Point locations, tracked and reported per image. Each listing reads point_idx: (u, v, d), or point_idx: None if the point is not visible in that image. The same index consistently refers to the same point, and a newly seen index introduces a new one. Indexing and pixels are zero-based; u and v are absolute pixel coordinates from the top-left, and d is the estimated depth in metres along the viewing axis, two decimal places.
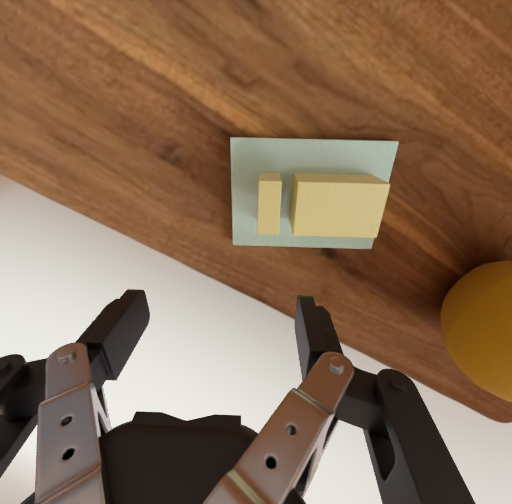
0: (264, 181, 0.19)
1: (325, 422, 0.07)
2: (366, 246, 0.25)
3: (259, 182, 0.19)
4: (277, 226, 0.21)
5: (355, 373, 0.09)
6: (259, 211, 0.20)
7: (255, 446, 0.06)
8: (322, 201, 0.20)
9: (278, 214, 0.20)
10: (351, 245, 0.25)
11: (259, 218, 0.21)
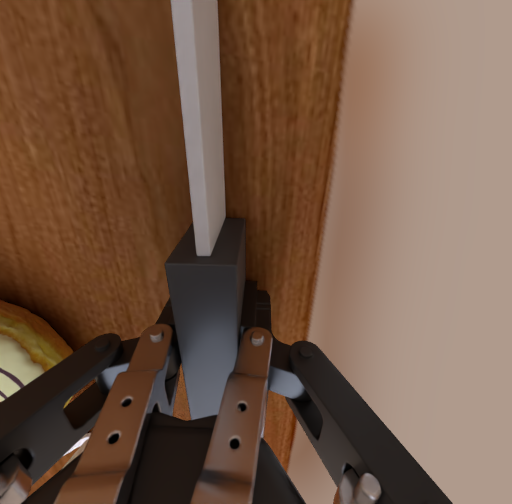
0: None
1: (266, 386, 0.08)
2: None
3: None
4: None
5: (277, 346, 0.10)
6: None
7: (215, 439, 0.06)
8: None
9: None
10: None
11: None
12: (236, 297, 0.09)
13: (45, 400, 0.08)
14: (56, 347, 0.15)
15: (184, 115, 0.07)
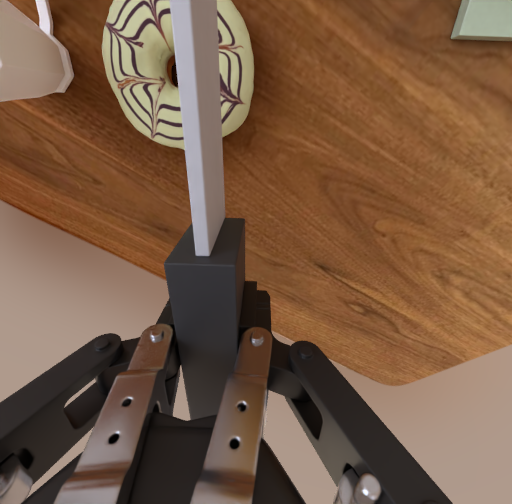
0: None
1: (265, 386, 0.08)
2: None
3: None
4: None
5: (276, 346, 0.10)
6: None
7: (215, 439, 0.06)
8: None
9: None
10: None
11: None
12: (235, 297, 0.09)
13: (46, 400, 0.08)
14: None
15: (183, 115, 0.07)
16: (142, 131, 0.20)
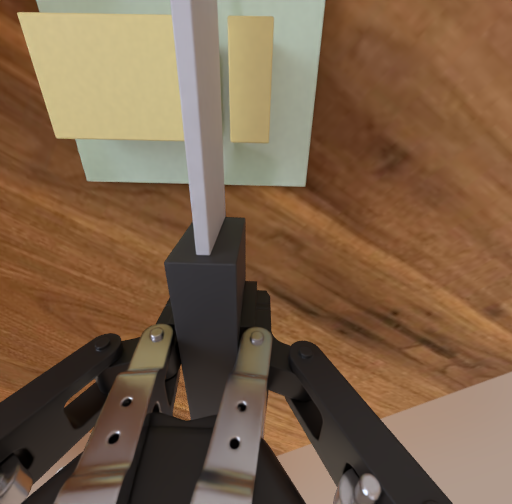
0: (259, 141, 0.12)
1: (265, 386, 0.08)
2: None
3: (267, 139, 0.12)
4: (231, 41, 0.10)
5: (276, 346, 0.10)
6: (268, 80, 0.11)
7: (215, 438, 0.06)
8: (155, 104, 0.11)
9: (231, 73, 0.11)
10: None
11: (268, 62, 0.10)
12: (236, 296, 0.09)
13: (46, 400, 0.08)
14: None
15: (183, 114, 0.07)
16: None
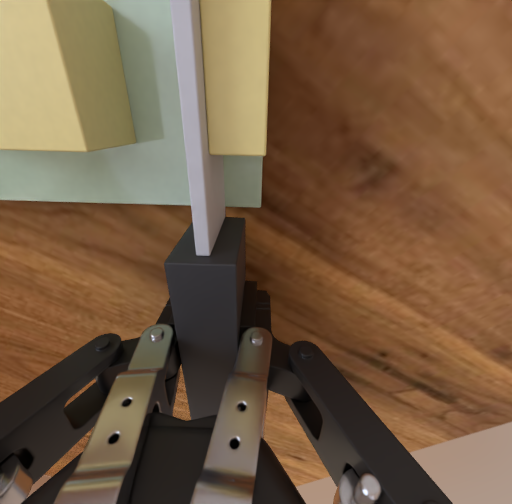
0: (251, 153, 0.08)
1: (265, 386, 0.08)
2: None
3: (263, 151, 0.08)
4: None
5: (276, 346, 0.10)
6: (263, 59, 0.07)
7: (215, 438, 0.06)
8: (3, 95, 0.07)
9: (206, 48, 0.07)
10: None
11: (264, 30, 0.07)
12: (236, 297, 0.09)
13: (46, 401, 0.08)
14: None
15: (183, 114, 0.07)
16: None
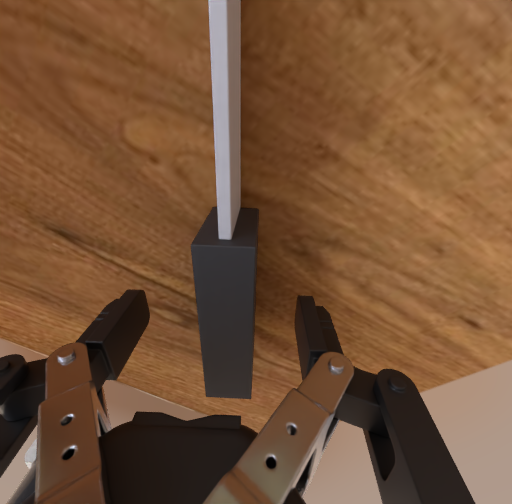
0: None
1: (325, 422, 0.07)
2: None
3: None
4: None
5: (355, 373, 0.09)
6: None
7: (255, 446, 0.06)
8: None
9: None
10: None
11: None
12: (254, 277, 0.10)
13: None
14: None
15: (215, 111, 0.08)
16: None
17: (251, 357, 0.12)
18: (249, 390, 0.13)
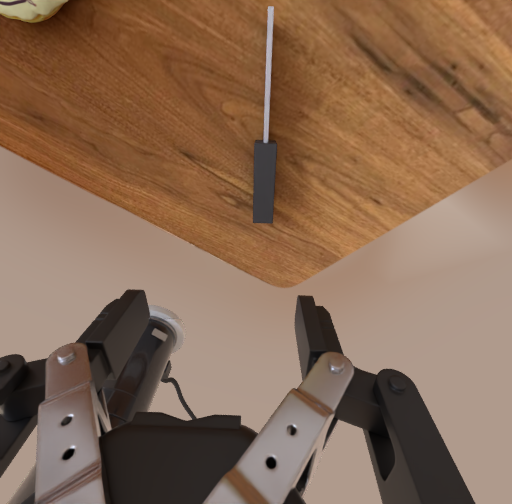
0: None
1: (325, 422, 0.07)
2: None
3: None
4: None
5: (355, 373, 0.09)
6: None
7: (255, 446, 0.06)
8: None
9: None
10: None
11: None
12: None
13: None
14: None
15: (265, 96, 0.25)
16: None
17: (273, 197, 0.29)
18: (272, 217, 0.31)
